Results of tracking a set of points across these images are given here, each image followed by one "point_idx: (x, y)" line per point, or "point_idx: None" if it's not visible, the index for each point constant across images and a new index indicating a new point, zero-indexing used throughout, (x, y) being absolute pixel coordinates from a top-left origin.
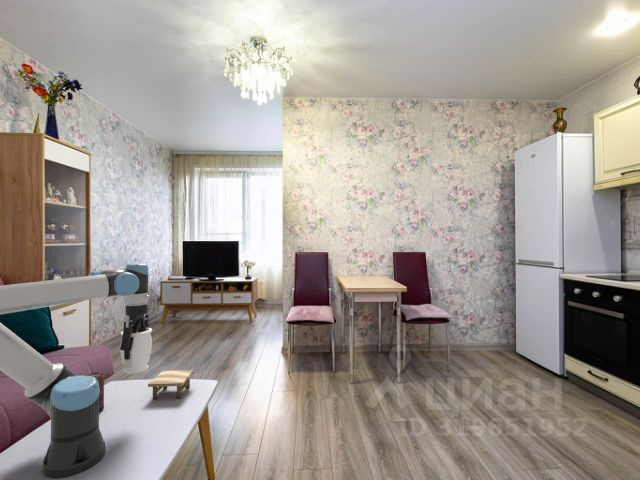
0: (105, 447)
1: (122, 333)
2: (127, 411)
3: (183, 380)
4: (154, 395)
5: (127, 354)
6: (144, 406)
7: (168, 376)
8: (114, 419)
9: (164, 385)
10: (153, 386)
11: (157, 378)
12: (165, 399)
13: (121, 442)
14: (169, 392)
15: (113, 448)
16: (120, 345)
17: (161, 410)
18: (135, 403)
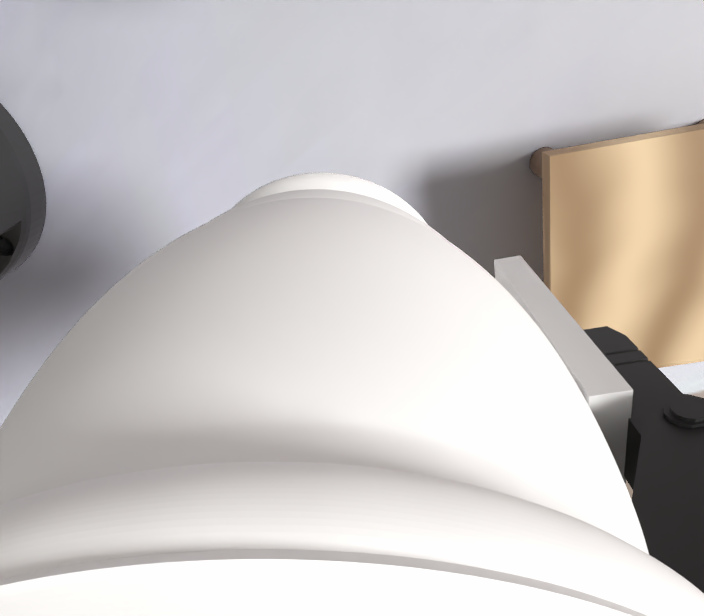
0: (11, 270)
1: None
2: (371, 92)
3: None
4: (537, 172)
5: None
6: (439, 160)
7: (688, 232)
8: (272, 79)
9: (545, 272)
10: (543, 194)
11: (658, 166)
12: (529, 234)
13: (104, 279)
14: None
15: (57, 276)
16: (56, 349)
17: None
18: (477, 69)
